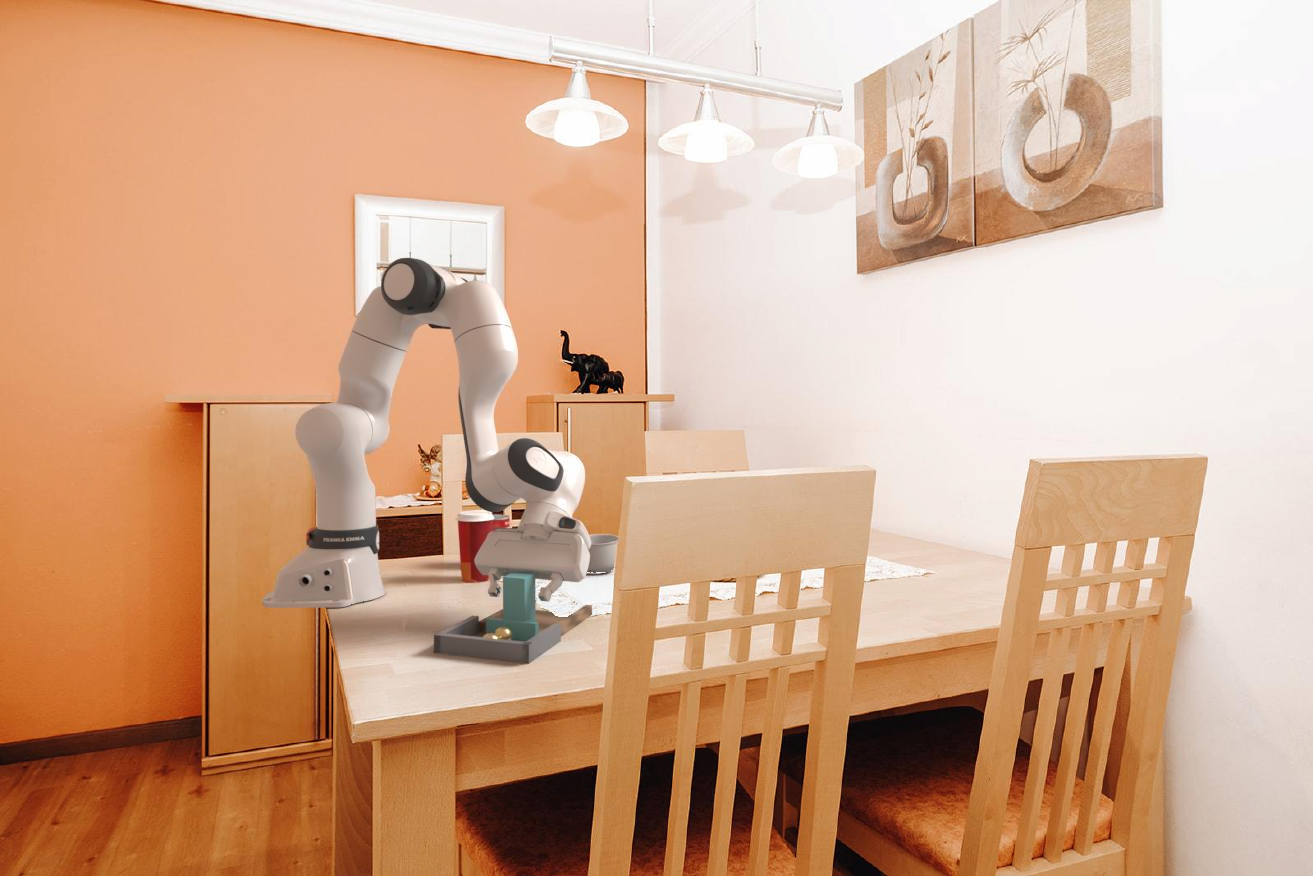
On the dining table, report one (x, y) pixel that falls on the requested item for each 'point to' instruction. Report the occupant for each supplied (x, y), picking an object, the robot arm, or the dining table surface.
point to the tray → (493, 643)
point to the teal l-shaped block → (517, 607)
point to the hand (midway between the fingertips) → (517, 597)
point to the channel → (549, 619)
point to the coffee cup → (472, 541)
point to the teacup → (602, 552)
